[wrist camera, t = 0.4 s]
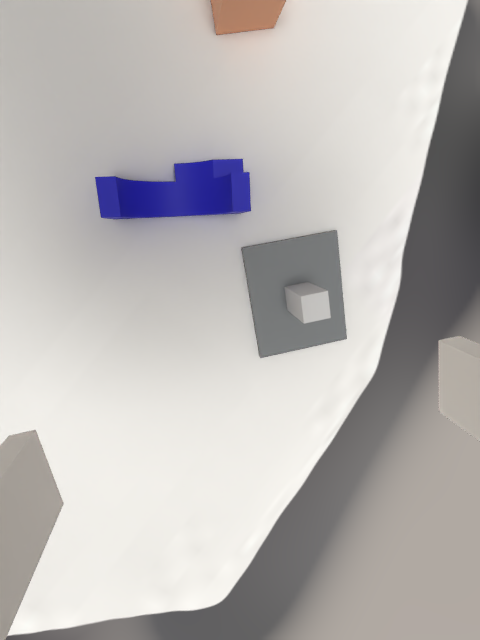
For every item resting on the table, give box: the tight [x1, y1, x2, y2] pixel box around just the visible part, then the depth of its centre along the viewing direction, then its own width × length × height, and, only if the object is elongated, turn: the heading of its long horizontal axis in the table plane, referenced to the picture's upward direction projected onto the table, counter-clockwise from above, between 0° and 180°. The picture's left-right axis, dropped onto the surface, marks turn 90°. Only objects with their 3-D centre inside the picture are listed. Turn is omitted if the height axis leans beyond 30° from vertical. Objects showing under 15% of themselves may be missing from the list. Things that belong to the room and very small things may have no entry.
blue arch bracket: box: [95, 159, 251, 219], centre depth 31 cm, size 12×4×6 cm, turn 92°
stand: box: [242, 230, 347, 358], centre depth 35 cm, size 12×10×6 cm
